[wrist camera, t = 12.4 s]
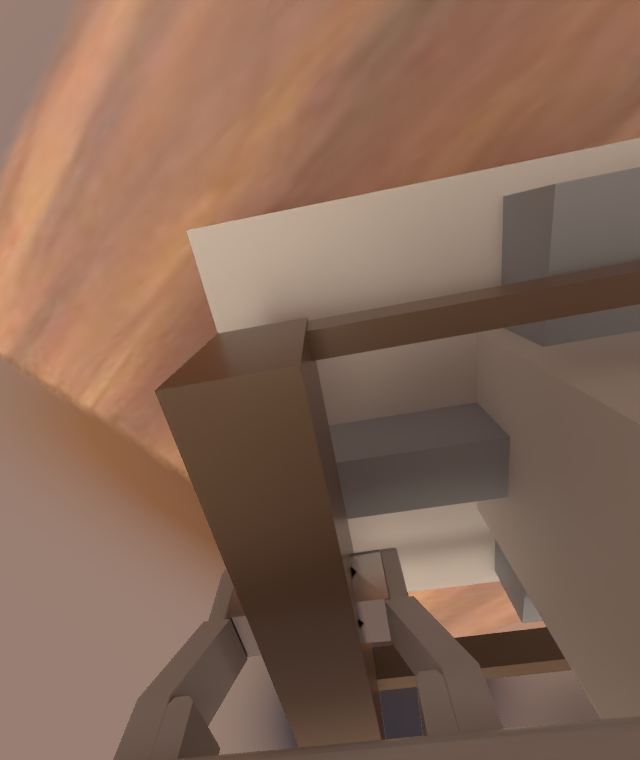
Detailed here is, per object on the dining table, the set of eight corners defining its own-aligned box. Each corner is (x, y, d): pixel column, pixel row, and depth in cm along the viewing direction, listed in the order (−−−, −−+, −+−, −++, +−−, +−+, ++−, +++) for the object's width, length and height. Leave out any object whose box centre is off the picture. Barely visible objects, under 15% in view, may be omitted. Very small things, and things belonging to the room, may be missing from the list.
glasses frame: (218, 333, 10) (154, 390, 6) (795, 227, 9) (1152, 217, 5) (319, 666, 16) (319, 798, 12) (666, 626, 15) (784, 757, 11)
